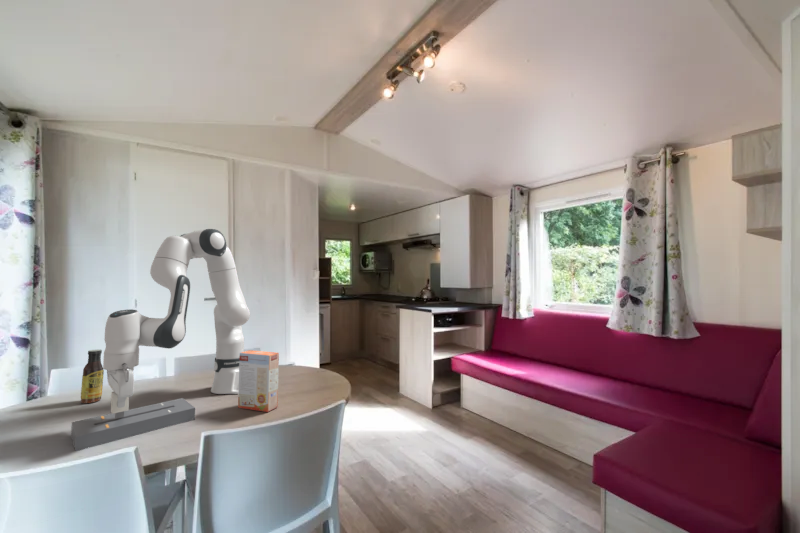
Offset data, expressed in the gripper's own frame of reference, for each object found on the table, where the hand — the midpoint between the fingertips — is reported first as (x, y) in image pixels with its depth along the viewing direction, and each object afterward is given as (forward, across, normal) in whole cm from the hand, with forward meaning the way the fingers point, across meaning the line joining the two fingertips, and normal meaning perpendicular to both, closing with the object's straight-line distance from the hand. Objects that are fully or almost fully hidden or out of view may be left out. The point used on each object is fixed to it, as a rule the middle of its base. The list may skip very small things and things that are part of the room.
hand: (119, 405), depth 109 cm
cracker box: (+8, -12, -40) cm, 42 cm away
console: (+8, 0, -5) cm, 9 cm away
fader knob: (+4, 0, 0) cm, 4 cm away
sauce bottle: (+9, +41, +2) cm, 42 cm away
